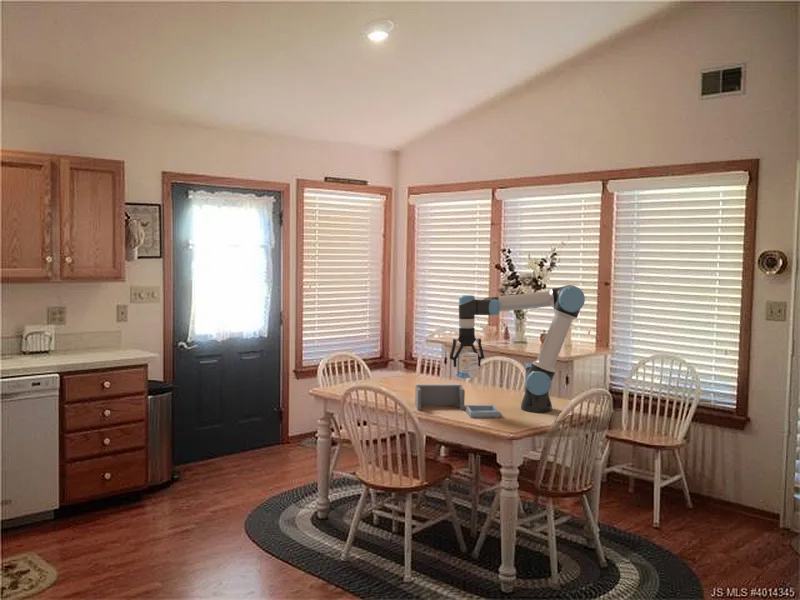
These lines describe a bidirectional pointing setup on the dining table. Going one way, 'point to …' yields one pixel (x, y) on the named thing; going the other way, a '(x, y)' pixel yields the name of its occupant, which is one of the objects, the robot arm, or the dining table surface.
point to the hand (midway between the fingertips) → (467, 373)
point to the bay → (439, 395)
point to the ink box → (467, 364)
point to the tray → (482, 411)
